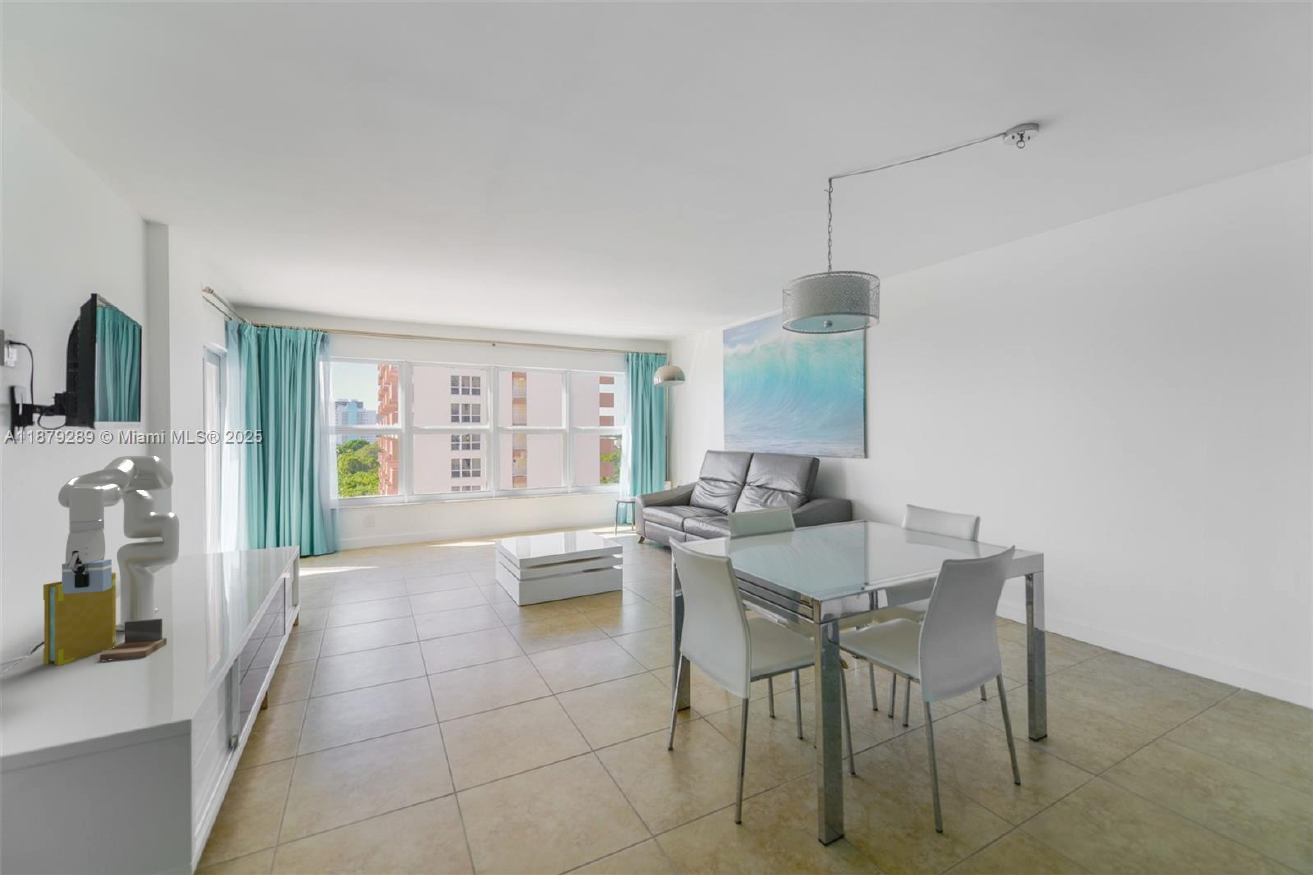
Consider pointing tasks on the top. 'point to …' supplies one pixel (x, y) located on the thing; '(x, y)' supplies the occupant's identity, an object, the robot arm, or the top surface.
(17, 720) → the top surface
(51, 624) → the book
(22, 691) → the top surface
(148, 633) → the brown l-shaped piece
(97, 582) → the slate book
